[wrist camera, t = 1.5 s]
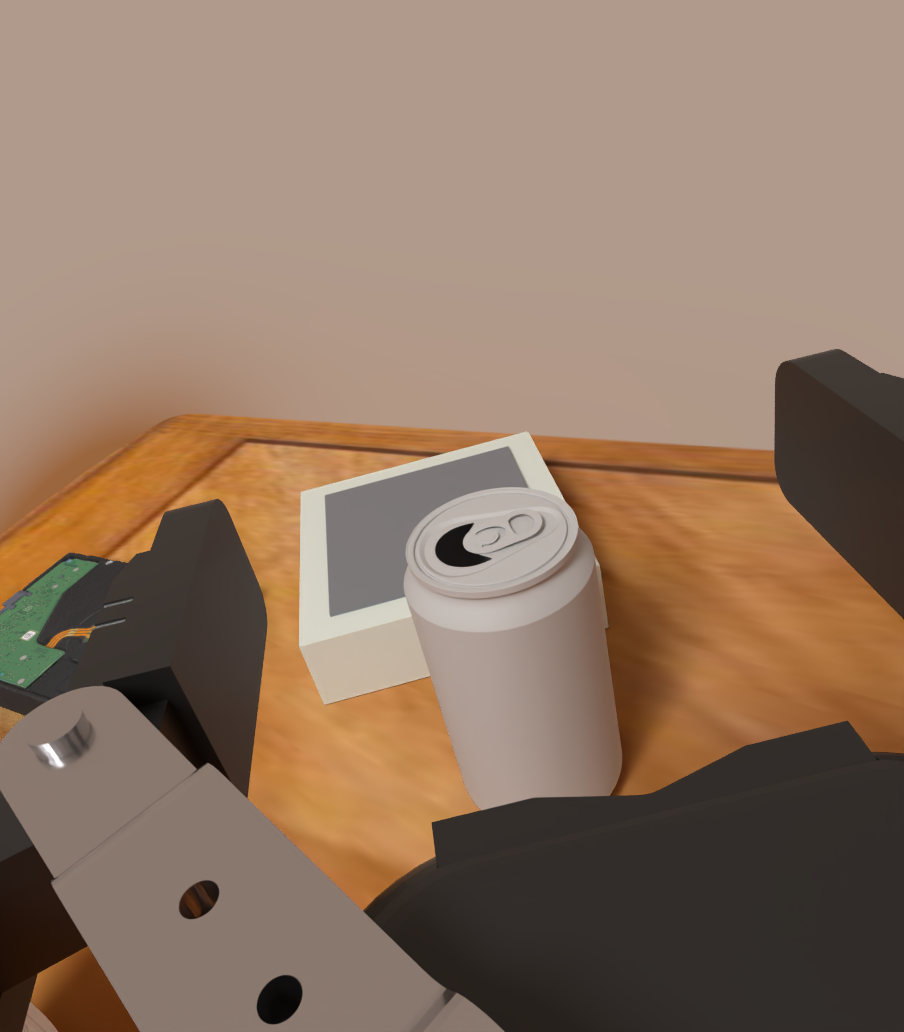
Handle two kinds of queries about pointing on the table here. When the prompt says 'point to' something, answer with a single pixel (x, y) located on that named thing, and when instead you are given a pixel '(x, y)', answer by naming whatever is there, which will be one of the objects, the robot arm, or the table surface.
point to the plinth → (387, 560)
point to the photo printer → (37, 1021)
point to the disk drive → (50, 629)
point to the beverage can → (516, 645)
